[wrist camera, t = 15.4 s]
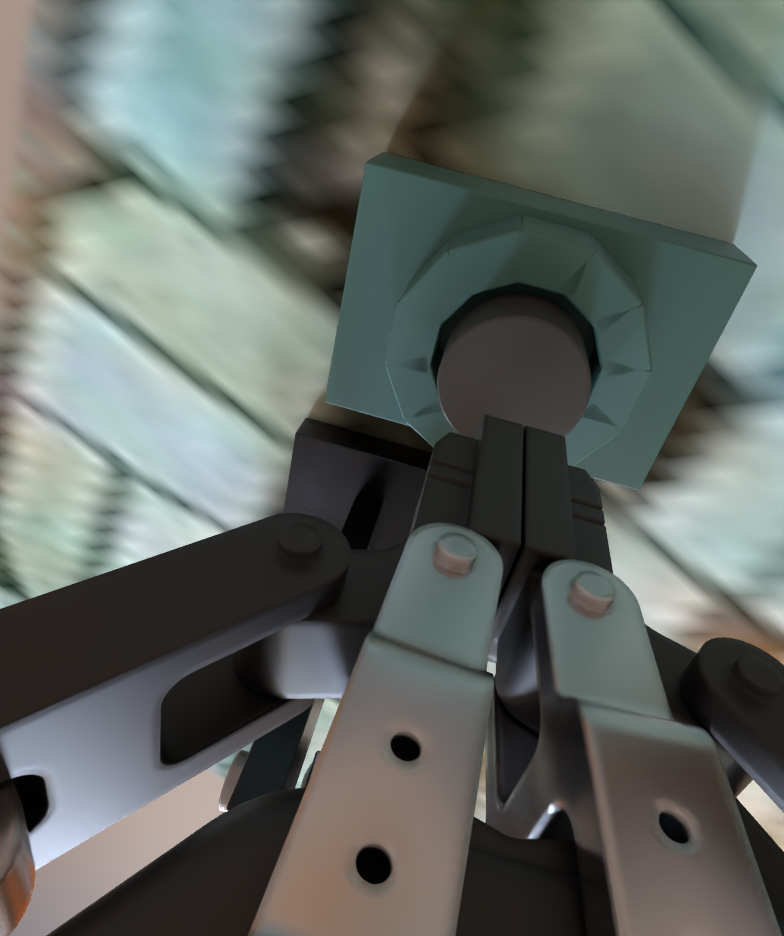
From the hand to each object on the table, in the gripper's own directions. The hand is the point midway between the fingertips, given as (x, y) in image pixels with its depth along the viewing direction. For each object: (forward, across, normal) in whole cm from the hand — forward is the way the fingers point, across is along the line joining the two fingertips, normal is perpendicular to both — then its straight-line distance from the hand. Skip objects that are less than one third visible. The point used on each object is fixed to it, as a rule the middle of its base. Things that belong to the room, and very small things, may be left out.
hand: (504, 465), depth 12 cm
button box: (+9, 0, 0) cm, 9 cm away
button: (+6, 0, 0) cm, 6 cm away
